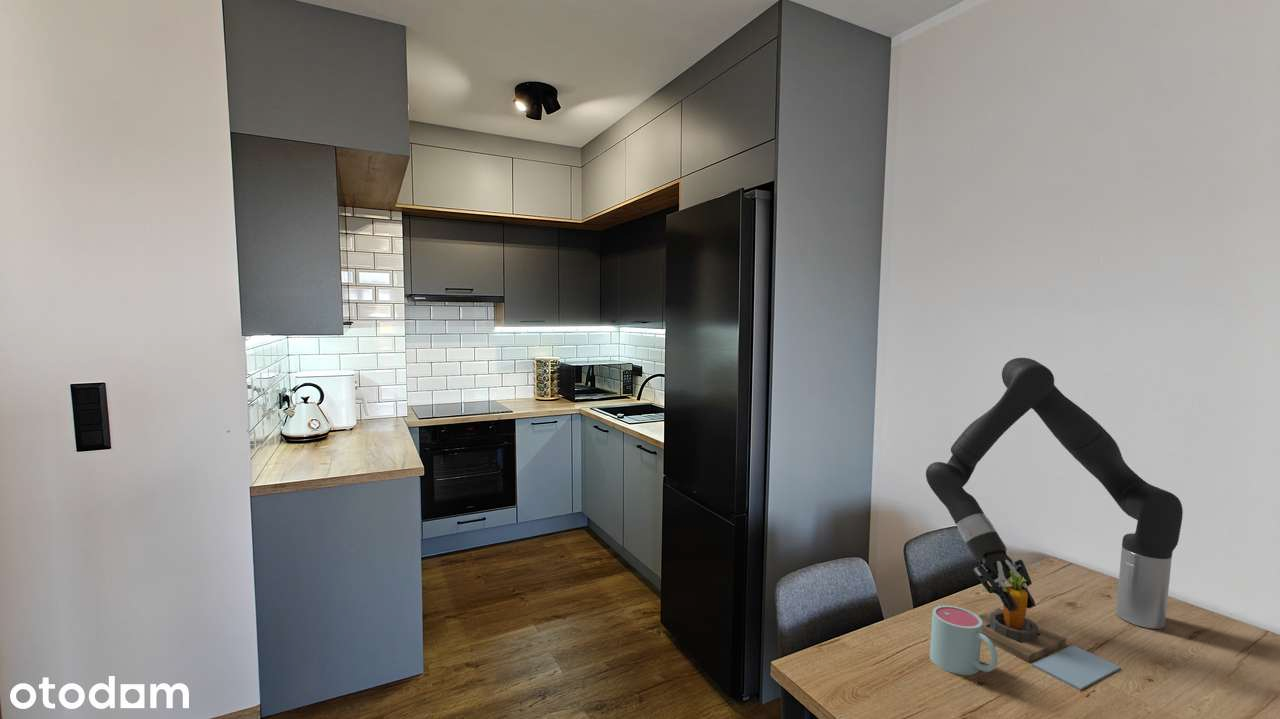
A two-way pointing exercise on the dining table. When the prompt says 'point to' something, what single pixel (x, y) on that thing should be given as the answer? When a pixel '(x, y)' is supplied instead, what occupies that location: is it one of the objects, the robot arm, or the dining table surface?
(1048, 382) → the robot arm
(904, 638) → the dining table surface
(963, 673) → the mug
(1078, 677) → the slate mat
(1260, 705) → the dining table surface
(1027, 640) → the ring stand
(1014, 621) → the carrot
